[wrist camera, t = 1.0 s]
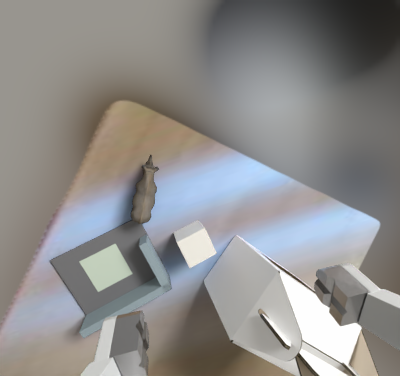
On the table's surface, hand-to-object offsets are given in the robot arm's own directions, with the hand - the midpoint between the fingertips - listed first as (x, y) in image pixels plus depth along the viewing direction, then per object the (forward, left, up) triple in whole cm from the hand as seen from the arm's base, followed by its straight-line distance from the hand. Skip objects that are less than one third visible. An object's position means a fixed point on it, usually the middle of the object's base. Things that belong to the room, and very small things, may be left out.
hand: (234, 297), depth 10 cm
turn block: (-12, 0, -37) cm, 39 cm away
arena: (-10, +17, -37) cm, 42 cm away
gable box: (-29, -9, -37) cm, 48 cm away
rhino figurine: (+2, +4, -37) cm, 38 cm away
